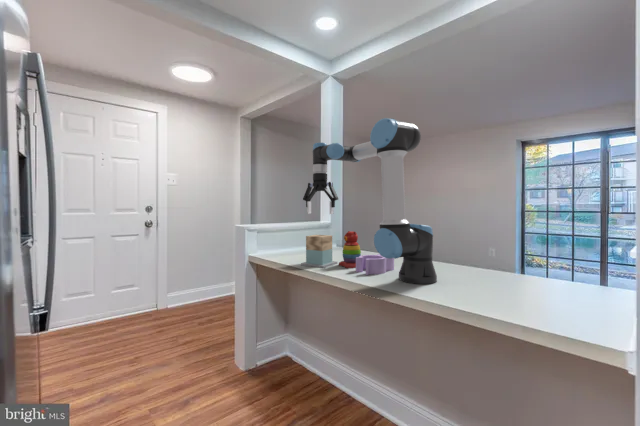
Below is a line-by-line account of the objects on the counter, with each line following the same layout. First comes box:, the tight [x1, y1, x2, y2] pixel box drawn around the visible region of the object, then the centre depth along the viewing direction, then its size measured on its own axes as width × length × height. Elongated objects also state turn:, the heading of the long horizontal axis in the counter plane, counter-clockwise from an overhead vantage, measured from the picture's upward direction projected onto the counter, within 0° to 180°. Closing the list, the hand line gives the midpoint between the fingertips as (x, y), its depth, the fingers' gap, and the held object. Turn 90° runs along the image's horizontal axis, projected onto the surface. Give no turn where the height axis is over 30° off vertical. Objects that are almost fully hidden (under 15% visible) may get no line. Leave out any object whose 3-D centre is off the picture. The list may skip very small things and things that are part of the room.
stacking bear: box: [338, 230, 362, 269], centre depth 162 cm, size 11×10×18 cm
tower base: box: [300, 248, 338, 269], centre depth 166 cm, size 14×14×8 cm
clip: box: [355, 253, 395, 276], centre depth 150 cm, size 20×12×7 cm, turn 127°
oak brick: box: [305, 234, 333, 251], centre depth 166 cm, size 10×10×7 cm
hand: (320, 213), depth 165 cm, fingers open, 13 cm apart
